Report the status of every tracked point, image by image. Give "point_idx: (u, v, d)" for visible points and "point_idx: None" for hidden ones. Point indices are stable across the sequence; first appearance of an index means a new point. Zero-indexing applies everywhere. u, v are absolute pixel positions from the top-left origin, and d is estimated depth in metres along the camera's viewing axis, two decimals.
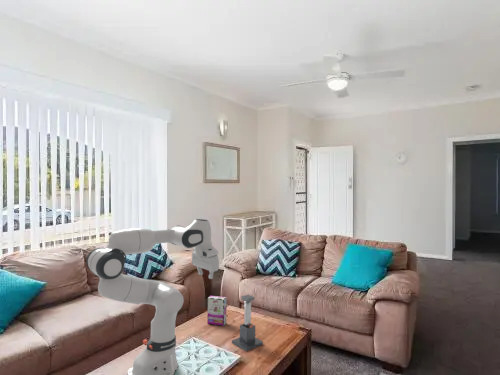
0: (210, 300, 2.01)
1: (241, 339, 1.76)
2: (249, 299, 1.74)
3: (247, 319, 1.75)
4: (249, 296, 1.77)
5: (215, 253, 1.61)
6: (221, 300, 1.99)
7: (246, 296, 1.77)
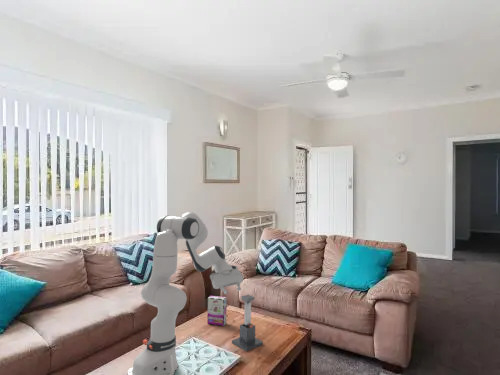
0: (210, 300, 2.01)
1: (241, 339, 1.76)
2: (249, 299, 1.74)
3: (247, 319, 1.75)
4: (249, 296, 1.77)
5: None
6: (221, 300, 1.99)
7: (246, 296, 1.77)
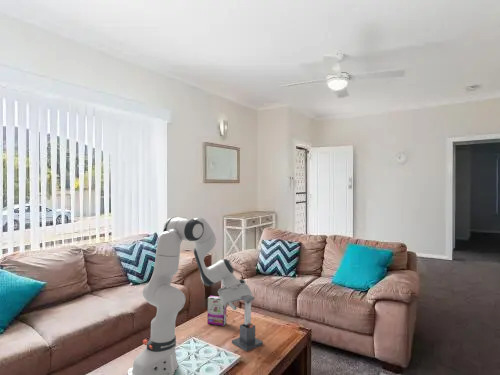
0: (210, 300, 2.01)
1: (241, 339, 1.76)
2: (249, 299, 1.74)
3: (247, 319, 1.75)
4: (249, 296, 1.77)
5: None
6: None
7: (246, 296, 1.77)
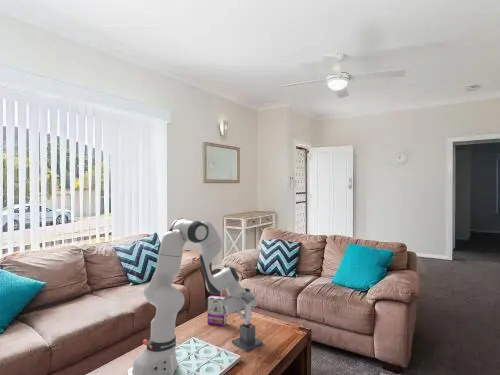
0: (210, 300, 2.01)
1: (241, 339, 1.76)
2: (249, 299, 1.74)
3: (247, 319, 1.75)
4: (249, 296, 1.77)
5: None
6: (221, 300, 1.99)
7: (246, 296, 1.77)
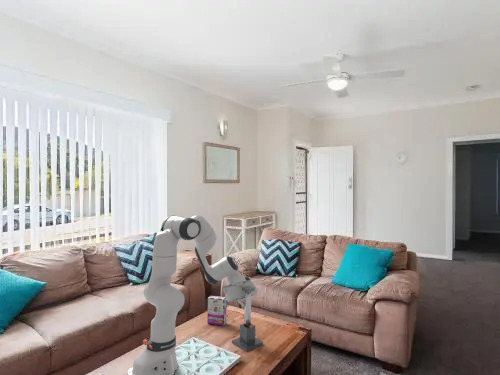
0: (210, 300, 2.01)
1: (241, 339, 1.76)
2: (249, 290, 1.74)
3: (247, 310, 1.75)
4: (249, 287, 1.77)
5: None
6: (221, 300, 1.99)
7: (246, 287, 1.77)
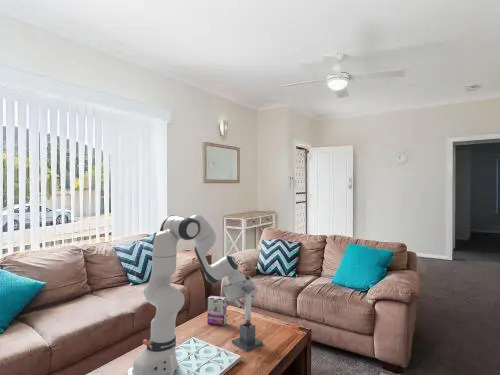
0: (210, 300, 2.01)
1: (241, 339, 1.76)
2: (249, 289, 1.74)
3: (247, 309, 1.75)
4: (249, 286, 1.77)
5: None
6: (221, 300, 1.99)
7: (246, 286, 1.77)
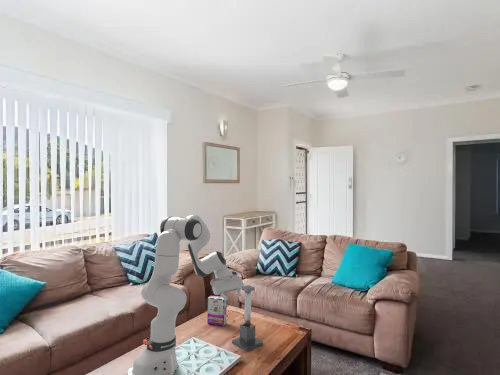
0: (210, 300, 2.01)
1: (241, 339, 1.76)
2: (249, 289, 1.74)
3: (247, 309, 1.75)
4: (249, 286, 1.77)
5: None
6: (221, 300, 1.99)
7: (246, 286, 1.77)
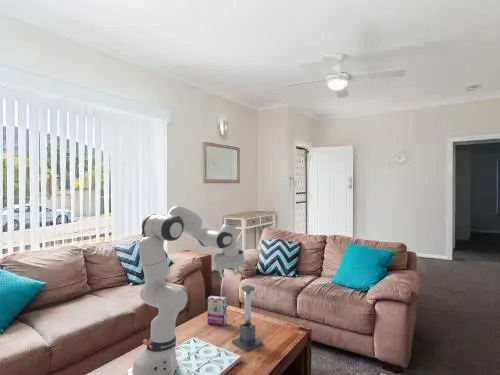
0: (210, 300, 2.01)
1: (241, 339, 1.76)
2: (249, 289, 1.74)
3: (247, 309, 1.75)
4: (249, 286, 1.77)
5: None
6: (221, 300, 1.99)
7: (246, 286, 1.77)
